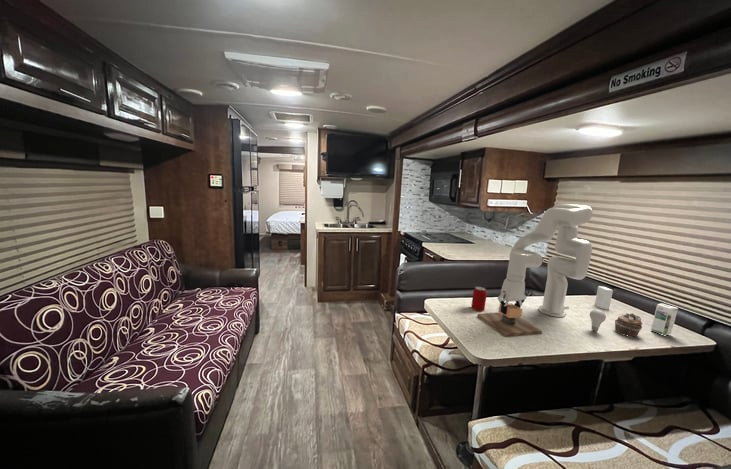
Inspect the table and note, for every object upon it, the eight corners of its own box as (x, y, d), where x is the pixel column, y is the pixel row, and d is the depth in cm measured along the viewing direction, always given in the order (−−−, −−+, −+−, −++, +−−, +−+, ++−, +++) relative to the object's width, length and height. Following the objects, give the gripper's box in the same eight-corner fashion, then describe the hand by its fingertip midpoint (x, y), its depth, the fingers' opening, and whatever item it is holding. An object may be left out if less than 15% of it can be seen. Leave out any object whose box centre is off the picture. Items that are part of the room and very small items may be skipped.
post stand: (509, 314, 151) (512, 297, 149) (541, 333, 132) (545, 314, 130) (477, 316, 146) (479, 299, 144) (505, 336, 127) (508, 317, 125)
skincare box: (609, 309, 166) (613, 290, 164) (602, 309, 166) (606, 289, 164) (600, 305, 172) (605, 286, 170) (593, 304, 172) (597, 286, 170)
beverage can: (482, 307, 158) (485, 286, 156) (486, 312, 151) (489, 291, 149) (469, 306, 158) (472, 285, 156) (473, 311, 152) (475, 289, 150)
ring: (510, 310, 142) (511, 303, 141) (521, 317, 135) (522, 309, 135) (498, 311, 140) (499, 303, 139) (509, 318, 133) (510, 310, 133)
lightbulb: (598, 335, 134) (603, 313, 132) (583, 329, 139) (588, 308, 137) (604, 333, 137) (609, 311, 135) (590, 327, 142) (594, 306, 140)
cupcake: (623, 327, 143) (627, 309, 142) (644, 338, 134) (649, 318, 132) (607, 328, 142) (611, 309, 140) (628, 338, 132) (633, 318, 131)
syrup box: (649, 331, 142) (656, 304, 139) (656, 329, 144) (663, 302, 141) (664, 337, 136) (672, 308, 134) (671, 335, 139) (678, 307, 136)
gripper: (524, 274, 140) (518, 308, 143) (494, 275, 136) (489, 310, 139) (536, 279, 133) (530, 315, 136) (506, 280, 129) (500, 317, 132)
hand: (509, 312), depth 138 cm, fingers closed on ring, 7 cm apart
